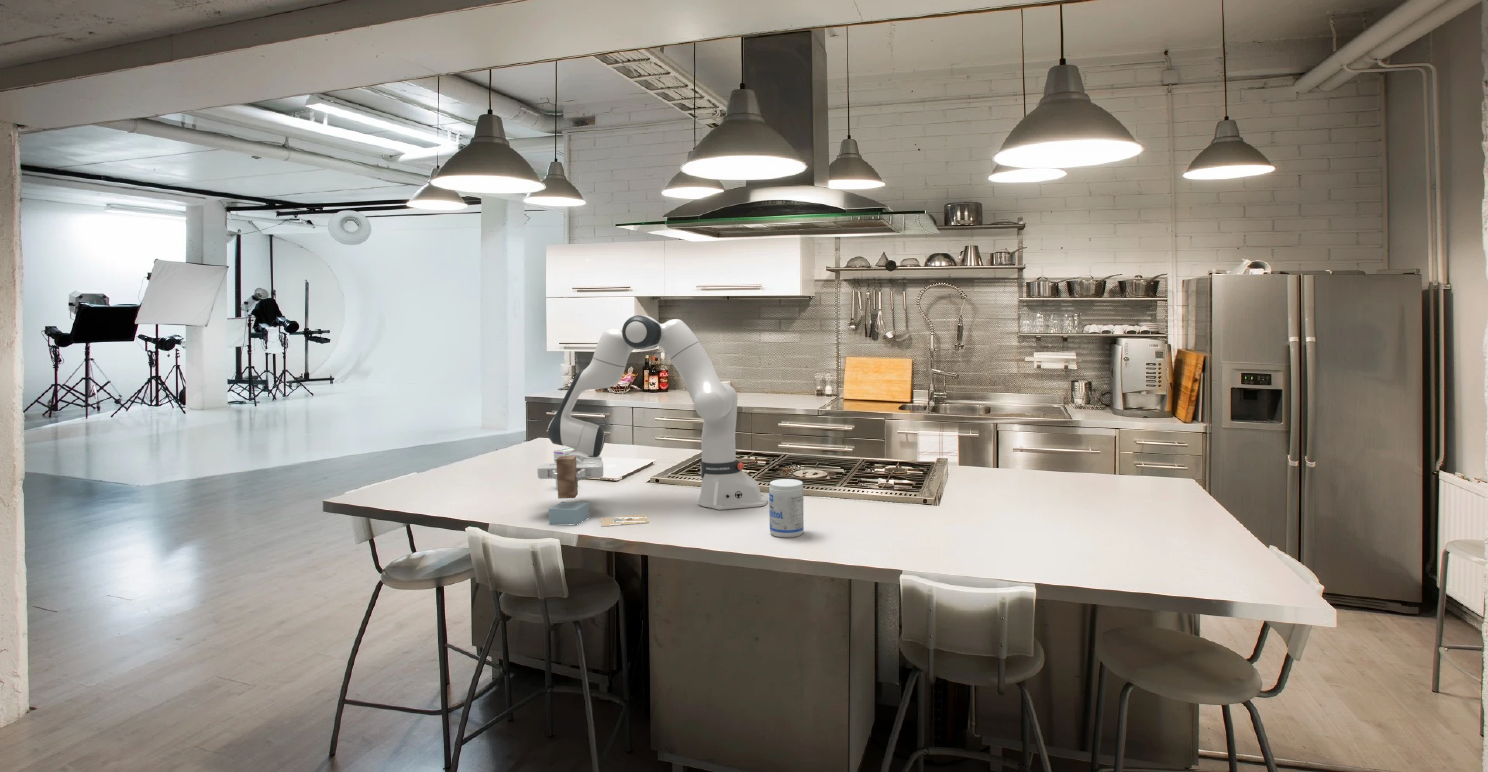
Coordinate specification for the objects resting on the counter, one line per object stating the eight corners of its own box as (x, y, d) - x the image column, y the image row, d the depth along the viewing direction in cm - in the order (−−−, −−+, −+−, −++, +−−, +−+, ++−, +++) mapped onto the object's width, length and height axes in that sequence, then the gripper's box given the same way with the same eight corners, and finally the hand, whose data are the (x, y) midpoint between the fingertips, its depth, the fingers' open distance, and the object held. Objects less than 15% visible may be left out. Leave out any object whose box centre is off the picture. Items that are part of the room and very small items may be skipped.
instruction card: (646, 514, 249) (646, 513, 249) (648, 522, 239) (648, 522, 239) (600, 518, 246) (600, 517, 246) (601, 526, 236) (601, 525, 236)
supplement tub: (762, 534, 223) (761, 483, 222) (783, 527, 230) (782, 477, 229) (790, 540, 217) (789, 487, 216) (811, 532, 224) (809, 481, 223)
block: (577, 494, 246) (576, 455, 245) (574, 498, 241) (572, 459, 240) (561, 494, 246) (559, 456, 245) (558, 498, 241) (556, 459, 240)
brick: (589, 518, 248) (588, 502, 247) (576, 526, 239) (576, 509, 238) (563, 517, 250) (562, 501, 249) (549, 525, 241) (548, 508, 241)
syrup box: (566, 490, 286) (564, 450, 284) (555, 488, 289) (553, 449, 288) (578, 487, 290) (576, 448, 289) (567, 485, 294) (565, 447, 292)
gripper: (542, 458, 255) (531, 466, 242) (606, 456, 256) (599, 464, 242) (543, 477, 256) (532, 487, 242) (606, 475, 256) (600, 485, 243)
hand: (566, 475), depth 242 cm, fingers closed on block, 5 cm apart
